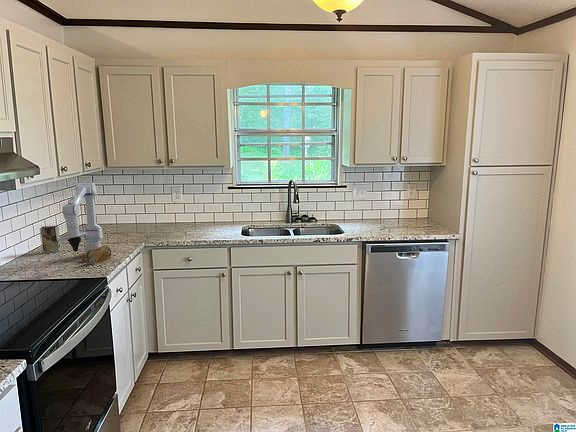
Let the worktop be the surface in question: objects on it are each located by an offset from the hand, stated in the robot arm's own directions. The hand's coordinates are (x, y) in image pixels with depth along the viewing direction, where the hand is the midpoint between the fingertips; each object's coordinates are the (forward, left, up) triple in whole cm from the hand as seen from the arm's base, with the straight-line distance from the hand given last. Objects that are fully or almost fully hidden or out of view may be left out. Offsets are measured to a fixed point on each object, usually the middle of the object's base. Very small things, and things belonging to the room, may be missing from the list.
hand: (75, 251), depth 228 cm
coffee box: (-49, +13, -10) cm, 52 cm away
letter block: (-8, +11, -10) cm, 17 cm away
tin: (0, +13, -10) cm, 16 cm away
